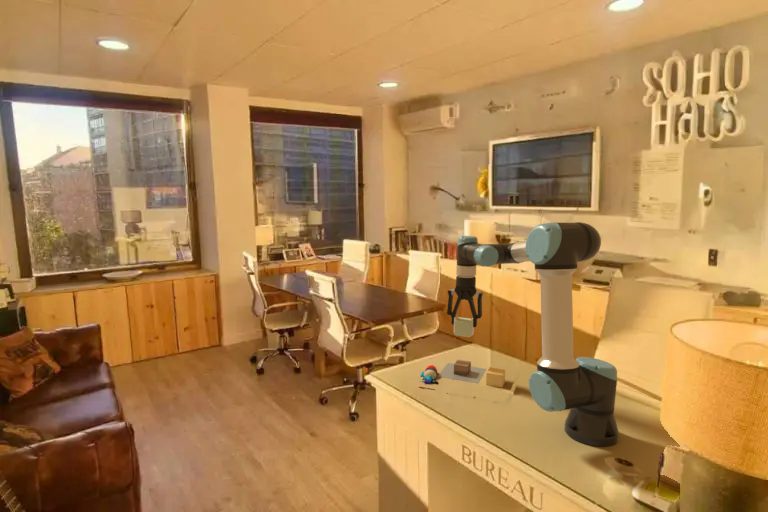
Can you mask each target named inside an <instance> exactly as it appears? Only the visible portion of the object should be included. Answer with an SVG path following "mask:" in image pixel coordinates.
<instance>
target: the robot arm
mask: <svg viewBox="0 0 768 512" xmlns="http://www.w3.org/2000/svg"><path fill="white" fill-rule="evenodd" d="M478 241H479V240H478V237H477V236H475V235H474V236H473V235H460V236H459V237H458V238H457V245H456V277H455V288H453V289H451V288H450V289H449V290H448V291H447V293H448V300H447V311H446V315H448V316H450V317H451V325H453V334H454V335H455V320H456V319H457V318H458V317H459V315H457V313H458V310H459V307H460V305H461V303H462V300H465V301H467V302H468V304H469V308H470V311H471V316H472V318H470V319H471V335H470V337H472V336H474V334H475V328H476V327H477V326H478V320H479V319H482V317H483V296H484V292H480V291H478V290H477V288H476V283H477V279H476V276H477V265H479V266H481V267H489V268H490V267H493V266H494V265H501V264H503V265H504V264H505V265H507V264H522V263H525V262H531V263H532V264H534V271H536V272H537V273H538V275H539V276H540V278H539V279H540V312H541V313H540V316H541V318H540V319H541V322H540V323H541V353H542V354H541V355H542V356H541V357H540V358H539V359H538V360H537V361H536V370H535V371H533V372H532V373H531V375H530V376H529V378H528V388H529V393H530V395H531V397H532V399H533V400H534V401H535V404H536V405H537V406H539V408H541V409H542V410H544V411H545V412H550V413H554V412H564V411H566V410H569V412H568V414H567V416H566V418H565V422H564V432H565V433H566V434H567V435H568V437H570V438H571V439H573V440H574V441H577V442H579V443H582V444H585V445H589V446H593V447H610V446H613V445H615V444H617V443H618V441H619V436H620V435H619V429H618V425H617V421H616V417H615V407H616V406H615V405H616V395H617V386H618V370H617V368H616V367H615V365H614V364H612V363H610V362H608V361H606V360H601V359H598V358H595V357H590V356H578V357H576V358H574V354H575V353H574V320H573V319H574V318H573V311H574V309H573V277H572V276H573V274H574V273H575V272H576V271H577V270H578V263H580V262H586V261H589V260H591V259H592V258H594V257H595V256H596V255H597V254H598V253H599V251H600V249H601V246H602V239H601V235H600V233H599V231H598V230H597V229H596V228H595V227H594V226H593V225H591V224H589V223H585V222H576V221H575V222H546V223H539V224H537V225H535V226H534V227H533V228H532V229H531V231H530V232H529V233H528V235H527V237H526V240H521V241H516V242H509V243H488V244H487V243H486V244H485V243H484V244H483V243H478ZM454 294H456V296H457V299H456V301H455V305H454V307H453V303H454V302H453V301H454ZM475 295H476V298H477V309H476V306H475V301H474V296H475Z"/></svg>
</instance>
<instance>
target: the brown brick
mask: <svg viewBox="0 0 768 512" xmlns="http://www.w3.org/2000/svg"><path fill="white" fill-rule="evenodd" d="M453 364H454V374H456V375H462V376H468V374H469V373H470V371H471V367H472V361H469V360H463V359H457V360H456V361H455V362H454V363H453Z"/></svg>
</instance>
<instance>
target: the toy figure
mask: <svg viewBox="0 0 768 512" xmlns="http://www.w3.org/2000/svg"><path fill="white" fill-rule="evenodd" d="M437 376H438V369H437V367H436V366H434V364H433V365H432V364H431V365H428V366H427V367H426V368H425V369H424V371H421V374H420V376H419V377H421V378H422V380H419V382H421V383H424V385H425V386H426V385H430V384H432V385H439V381H438V380H436V378H437ZM418 388H419V389H425V387H424V386H419V387H418ZM426 390H432V391H436V390H437V389H433V388H429V387H426Z"/></svg>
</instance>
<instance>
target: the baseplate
mask: <svg viewBox="0 0 768 512" xmlns="http://www.w3.org/2000/svg"><path fill="white" fill-rule="evenodd" d="M454 364H455V363H450V362H448V363H446V365H445V366H444V367H443V369H442V370H441V371H440V372H439V374H437V376H436V378H437V377H438V378H444V379H450V380H456V381H462V382H467V383H468V382H469V383H474V384H479V383H480V381H481V379H482V377H483V376H484V374H485V372H486V371H487V368H483V367H476V366H471V371H470V373H469V374H468V376H462V375H456V374H454Z"/></svg>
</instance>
